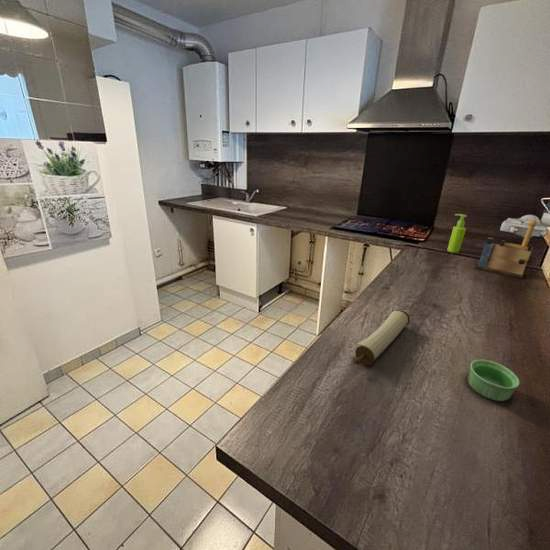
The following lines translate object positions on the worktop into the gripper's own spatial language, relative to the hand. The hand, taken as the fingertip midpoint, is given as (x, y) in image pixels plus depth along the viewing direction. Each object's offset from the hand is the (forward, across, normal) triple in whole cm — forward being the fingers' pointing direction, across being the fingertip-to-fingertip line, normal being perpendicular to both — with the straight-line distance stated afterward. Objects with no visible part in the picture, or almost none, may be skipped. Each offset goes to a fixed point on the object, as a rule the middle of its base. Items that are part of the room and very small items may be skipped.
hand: (528, 233), depth 125 cm
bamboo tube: (+93, +27, -19) cm, 98 cm away
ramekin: (+94, +2, -19) cm, 96 cm away
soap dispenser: (-16, +28, -19) cm, 37 cm away
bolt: (+4, +2, -6) cm, 7 cm away
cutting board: (+4, +5, -18) cm, 19 cm away
